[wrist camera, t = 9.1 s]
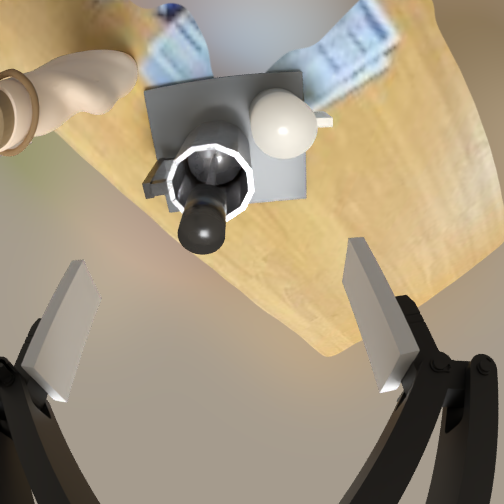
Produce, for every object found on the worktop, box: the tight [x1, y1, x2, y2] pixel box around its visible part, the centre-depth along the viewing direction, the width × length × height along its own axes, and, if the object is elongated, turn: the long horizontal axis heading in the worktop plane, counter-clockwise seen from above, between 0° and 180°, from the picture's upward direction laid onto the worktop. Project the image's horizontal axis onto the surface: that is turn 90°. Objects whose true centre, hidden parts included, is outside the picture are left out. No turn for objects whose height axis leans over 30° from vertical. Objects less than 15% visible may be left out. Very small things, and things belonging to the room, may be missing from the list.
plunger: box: [178, 149, 241, 255], centre depth 34 cm, size 7×7×19 cm
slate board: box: [144, 71, 306, 212], centre depth 44 cm, size 20×22×1 cm
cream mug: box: [249, 88, 333, 159], centre depth 37 cm, size 8×10×9 cm
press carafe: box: [142, 120, 254, 221], centre depth 39 cm, size 10×13×12 cm
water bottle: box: [0, 50, 138, 156], centre depth 26 cm, size 10×9×28 cm
